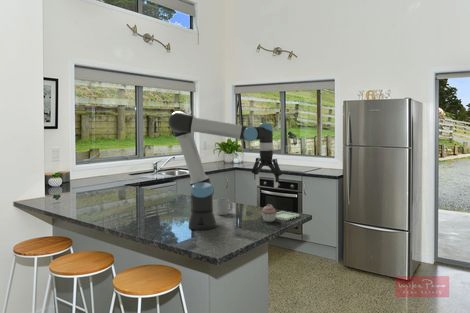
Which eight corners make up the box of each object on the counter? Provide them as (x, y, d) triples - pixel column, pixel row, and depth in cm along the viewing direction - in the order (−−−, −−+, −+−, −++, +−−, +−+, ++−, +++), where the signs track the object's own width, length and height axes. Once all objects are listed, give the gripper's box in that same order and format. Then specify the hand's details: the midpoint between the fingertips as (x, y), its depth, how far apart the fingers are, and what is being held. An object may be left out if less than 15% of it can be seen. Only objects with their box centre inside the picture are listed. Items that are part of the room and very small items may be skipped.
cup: (216, 212, 247) (215, 198, 246) (231, 211, 249) (231, 197, 248) (218, 215, 240) (218, 201, 239) (234, 214, 242) (234, 200, 241)
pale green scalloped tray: (286, 220, 224) (286, 218, 224) (267, 216, 234) (267, 214, 234) (299, 216, 234) (299, 214, 234) (280, 213, 244) (280, 210, 243)
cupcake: (257, 221, 224) (257, 204, 224) (267, 218, 231) (266, 201, 231) (270, 223, 218) (270, 206, 218) (280, 220, 225) (280, 203, 225)
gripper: (287, 150, 219) (287, 187, 221) (253, 148, 236) (253, 183, 238) (280, 151, 214) (280, 189, 215) (245, 149, 230) (245, 185, 232)
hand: (266, 186), depth 227 cm, fingers open, 13 cm apart
